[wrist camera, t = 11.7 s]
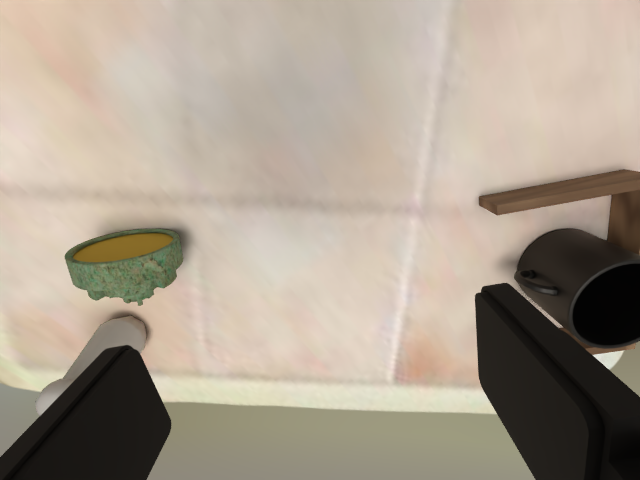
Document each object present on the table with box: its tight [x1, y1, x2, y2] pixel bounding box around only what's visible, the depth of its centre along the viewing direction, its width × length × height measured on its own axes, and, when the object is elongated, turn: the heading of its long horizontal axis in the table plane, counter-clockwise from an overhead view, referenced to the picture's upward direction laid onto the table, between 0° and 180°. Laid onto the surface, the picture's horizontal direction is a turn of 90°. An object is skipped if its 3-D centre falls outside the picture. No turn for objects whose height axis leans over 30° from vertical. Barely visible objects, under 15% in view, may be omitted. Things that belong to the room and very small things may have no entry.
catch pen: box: [479, 170, 640, 355], centre depth 37 cm, size 20×15×4 cm
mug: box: [514, 229, 640, 349], centre depth 34 cm, size 9×12×9 cm
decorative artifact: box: [65, 229, 183, 306], centre depth 34 cm, size 10×7×10 cm
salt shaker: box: [35, 316, 147, 416], centre depth 36 cm, size 6×6×13 cm
